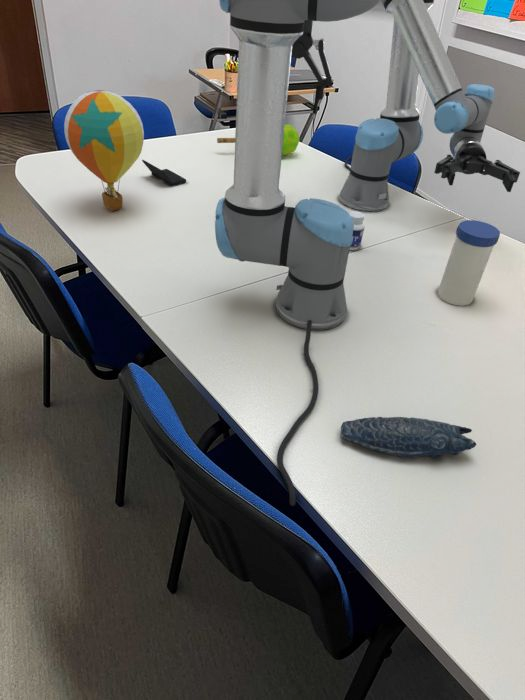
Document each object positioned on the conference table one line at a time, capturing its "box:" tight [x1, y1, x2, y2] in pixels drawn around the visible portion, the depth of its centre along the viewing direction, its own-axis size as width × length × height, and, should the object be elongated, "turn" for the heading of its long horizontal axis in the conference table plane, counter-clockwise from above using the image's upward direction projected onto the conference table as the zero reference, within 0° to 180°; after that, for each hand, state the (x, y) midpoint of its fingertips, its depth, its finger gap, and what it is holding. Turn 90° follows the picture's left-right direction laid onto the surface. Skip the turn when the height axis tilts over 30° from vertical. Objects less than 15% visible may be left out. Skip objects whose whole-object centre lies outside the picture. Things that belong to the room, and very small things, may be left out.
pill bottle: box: [348, 210, 365, 251], centre depth 135 cm, size 5×5×9 cm
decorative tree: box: [216, 124, 300, 156], centre depth 186 cm, size 18×10×30 cm
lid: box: [455, 219, 501, 247], centre depth 112 cm, size 9×9×2 cm
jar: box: [437, 235, 495, 307], centre depth 117 cm, size 8×8×17 cm
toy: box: [63, 89, 145, 212], centre depth 136 cm, size 20×20×30 cm
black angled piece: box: [141, 159, 187, 187], centre depth 162 cm, size 12×7×10 cm
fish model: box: [340, 416, 477, 458], centre depth 82 cm, size 7×21×5 cm, turn 84°
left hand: (288, 109), depth 135 cm, fingers open, 13 cm apart
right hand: (481, 183), depth 124 cm, fingers open, 13 cm apart
